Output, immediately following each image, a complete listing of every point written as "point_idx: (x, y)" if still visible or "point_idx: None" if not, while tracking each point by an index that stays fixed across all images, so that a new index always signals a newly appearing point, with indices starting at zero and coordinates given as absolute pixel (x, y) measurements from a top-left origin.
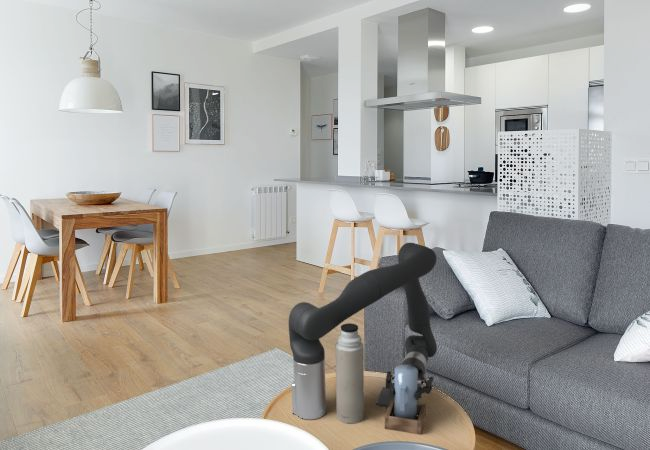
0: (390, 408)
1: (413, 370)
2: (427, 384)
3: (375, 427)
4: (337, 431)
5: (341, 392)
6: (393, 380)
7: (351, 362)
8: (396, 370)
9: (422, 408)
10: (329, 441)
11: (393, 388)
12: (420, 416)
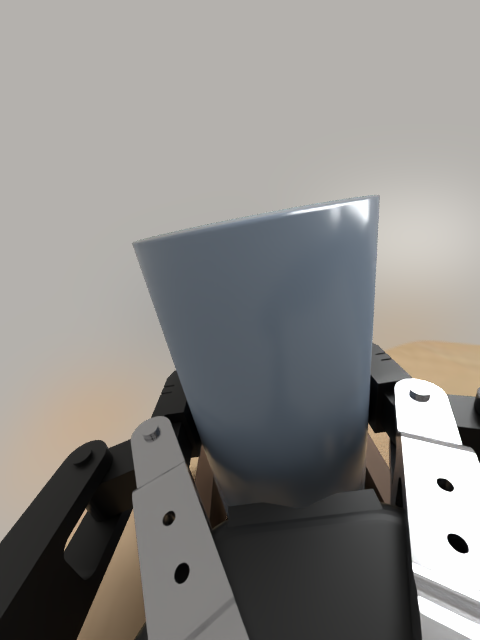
0: (379, 477)
1: (178, 233)
2: (76, 478)
3: (385, 432)
4: (467, 371)
5: None
6: (448, 414)
7: None
8: (328, 202)
9: None
10: (433, 342)
11: None
12: (206, 464)
